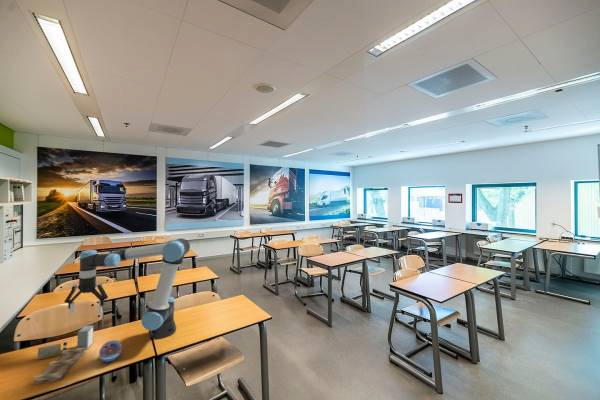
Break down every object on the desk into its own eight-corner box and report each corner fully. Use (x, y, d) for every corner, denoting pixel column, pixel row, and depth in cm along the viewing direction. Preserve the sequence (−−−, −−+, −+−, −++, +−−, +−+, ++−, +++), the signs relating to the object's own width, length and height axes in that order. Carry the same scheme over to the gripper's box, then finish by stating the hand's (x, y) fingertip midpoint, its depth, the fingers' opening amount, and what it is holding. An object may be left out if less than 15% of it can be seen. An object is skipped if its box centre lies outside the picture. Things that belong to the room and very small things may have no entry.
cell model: (98, 369, 126) (99, 350, 127) (98, 357, 136) (99, 340, 136) (122, 361, 133) (123, 344, 133) (121, 351, 142) (121, 334, 142)
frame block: (93, 343, 149) (93, 325, 149) (86, 350, 142) (87, 331, 142) (83, 344, 147) (84, 326, 147) (77, 351, 141) (77, 332, 141)
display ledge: (84, 353, 139) (85, 347, 139) (60, 380, 118) (60, 373, 118) (63, 356, 136) (63, 350, 136) (34, 384, 115) (34, 377, 115)
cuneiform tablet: (65, 356, 136) (34, 362, 130) (67, 353, 140) (37, 359, 134) (66, 342, 138) (36, 348, 131) (68, 339, 141) (39, 345, 135)
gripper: (115, 273, 153) (113, 307, 152) (65, 276, 145) (63, 312, 145) (110, 277, 146) (108, 313, 145) (57, 280, 138) (55, 318, 137)
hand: (86, 312), depth 145 cm, fingers open, 13 cm apart
